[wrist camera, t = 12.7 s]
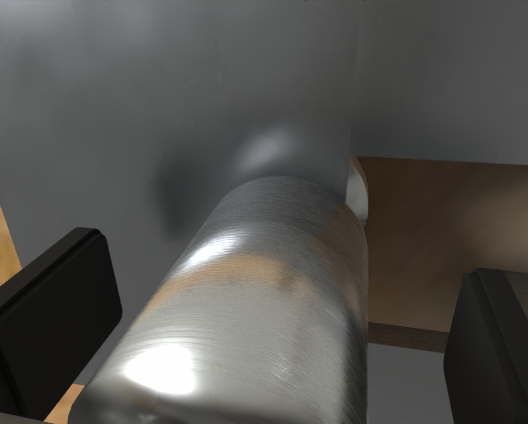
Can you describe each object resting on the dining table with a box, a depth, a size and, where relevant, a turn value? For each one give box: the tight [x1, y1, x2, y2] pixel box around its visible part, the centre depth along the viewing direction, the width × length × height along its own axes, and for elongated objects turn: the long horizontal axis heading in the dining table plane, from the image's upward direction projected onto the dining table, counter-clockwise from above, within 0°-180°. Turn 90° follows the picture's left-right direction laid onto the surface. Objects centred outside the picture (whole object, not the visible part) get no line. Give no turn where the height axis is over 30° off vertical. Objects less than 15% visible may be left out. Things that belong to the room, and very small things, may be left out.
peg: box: [67, 156, 368, 424], centre depth 12 cm, size 5×5×12 cm
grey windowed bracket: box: [0, 0, 528, 424], centre depth 16 cm, size 22×16×8 cm
